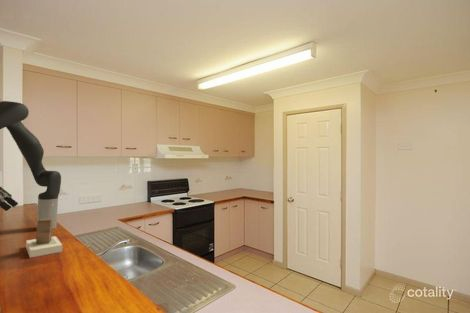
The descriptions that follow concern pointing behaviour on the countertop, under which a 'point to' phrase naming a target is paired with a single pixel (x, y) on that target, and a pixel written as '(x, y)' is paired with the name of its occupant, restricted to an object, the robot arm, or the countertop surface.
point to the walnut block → (44, 231)
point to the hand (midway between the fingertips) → (12, 207)
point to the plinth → (43, 247)
